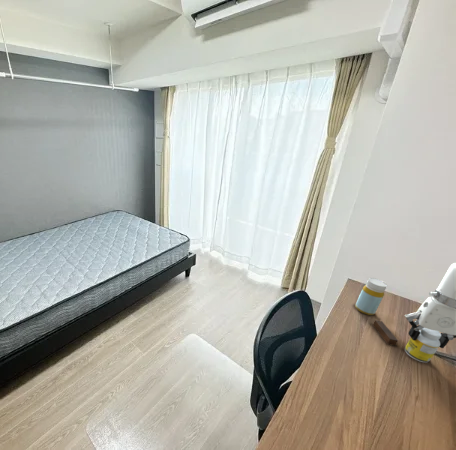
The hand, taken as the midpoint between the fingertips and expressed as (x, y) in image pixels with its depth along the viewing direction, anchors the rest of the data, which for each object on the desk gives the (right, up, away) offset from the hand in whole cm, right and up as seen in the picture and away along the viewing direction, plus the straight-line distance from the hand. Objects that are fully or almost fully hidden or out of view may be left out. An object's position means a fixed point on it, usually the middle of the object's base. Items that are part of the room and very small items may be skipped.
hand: (425, 340), depth 84 cm
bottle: (0, +2, +24) cm, 24 cm away
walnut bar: (-4, -3, +11) cm, 12 cm away
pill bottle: (0, -7, +3) cm, 7 cm away
